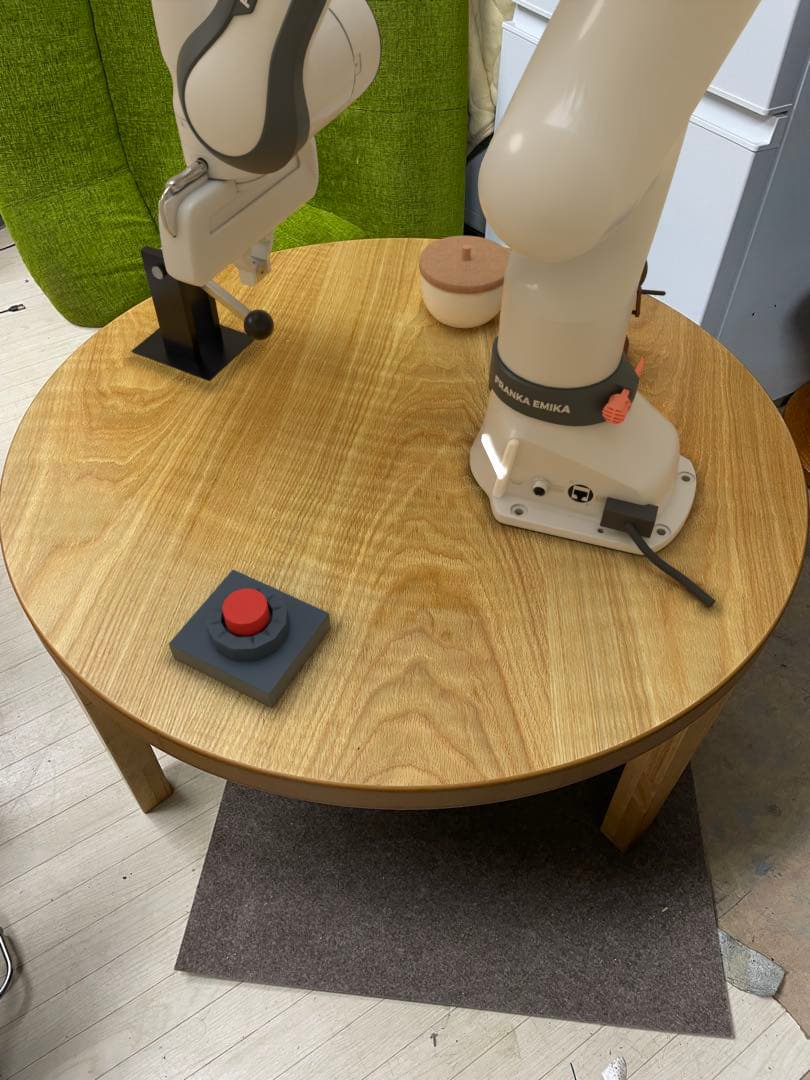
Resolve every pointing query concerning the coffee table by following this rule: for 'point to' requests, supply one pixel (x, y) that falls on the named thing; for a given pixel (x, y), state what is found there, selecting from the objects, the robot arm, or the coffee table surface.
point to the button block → (252, 641)
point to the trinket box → (463, 280)
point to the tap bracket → (186, 325)
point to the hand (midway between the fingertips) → (256, 278)
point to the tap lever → (242, 312)
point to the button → (246, 612)
